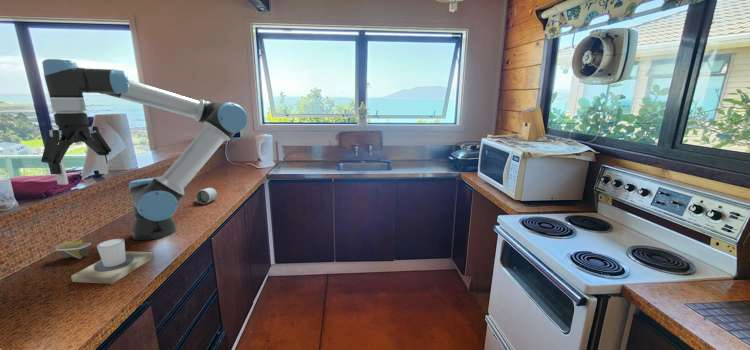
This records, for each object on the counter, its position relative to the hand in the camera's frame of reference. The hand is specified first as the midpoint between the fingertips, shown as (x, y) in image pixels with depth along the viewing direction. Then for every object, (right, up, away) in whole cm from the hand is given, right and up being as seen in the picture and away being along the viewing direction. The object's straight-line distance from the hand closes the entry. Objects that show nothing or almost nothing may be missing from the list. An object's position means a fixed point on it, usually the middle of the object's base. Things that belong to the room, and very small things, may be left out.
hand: (84, 178), depth 101 cm
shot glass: (+10, -27, 0) cm, 29 cm away
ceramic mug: (+3, -14, +67) cm, 69 cm away
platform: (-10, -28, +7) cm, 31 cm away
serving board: (+10, -29, 0) cm, 31 cm away
